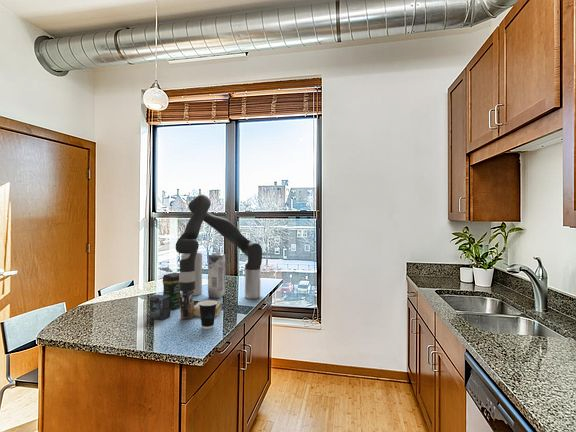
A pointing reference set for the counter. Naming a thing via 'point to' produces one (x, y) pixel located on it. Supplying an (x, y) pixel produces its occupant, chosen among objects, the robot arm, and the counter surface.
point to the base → (218, 309)
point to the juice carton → (216, 275)
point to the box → (159, 307)
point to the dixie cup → (207, 313)
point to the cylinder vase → (196, 273)
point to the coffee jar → (172, 289)
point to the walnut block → (190, 310)
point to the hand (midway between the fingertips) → (187, 314)
